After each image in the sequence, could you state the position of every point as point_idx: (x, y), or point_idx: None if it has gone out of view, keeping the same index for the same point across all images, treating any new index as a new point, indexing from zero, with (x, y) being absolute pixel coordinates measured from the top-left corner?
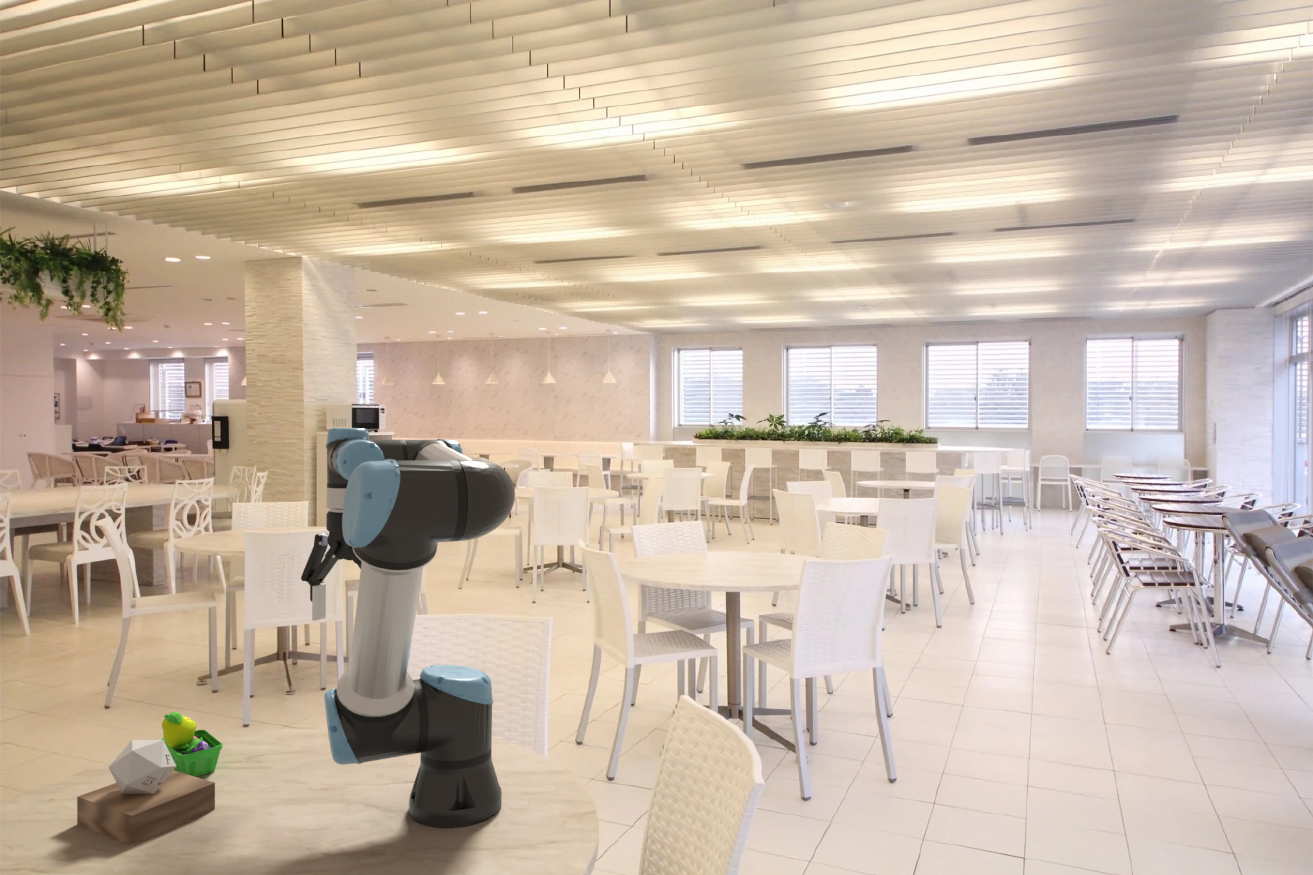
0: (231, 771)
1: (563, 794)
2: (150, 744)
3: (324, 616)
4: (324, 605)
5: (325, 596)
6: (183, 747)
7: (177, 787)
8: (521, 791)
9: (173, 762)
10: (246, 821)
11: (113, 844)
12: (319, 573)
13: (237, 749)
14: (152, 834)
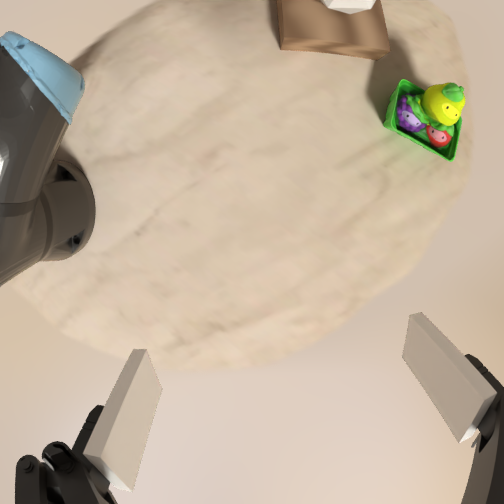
0: (367, 135)
1: (23, 287)
2: None
3: (405, 356)
4: (422, 380)
5: (436, 406)
6: (417, 95)
7: (311, 13)
8: (45, 274)
9: (328, 1)
10: (217, 48)
11: None
12: (499, 460)
13: (417, 192)
14: None
